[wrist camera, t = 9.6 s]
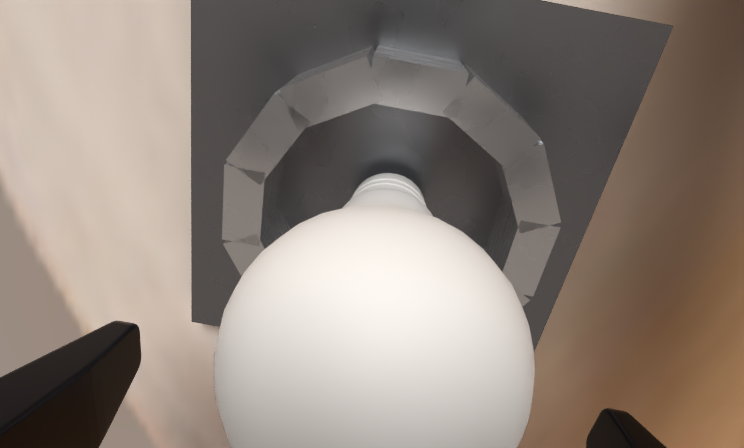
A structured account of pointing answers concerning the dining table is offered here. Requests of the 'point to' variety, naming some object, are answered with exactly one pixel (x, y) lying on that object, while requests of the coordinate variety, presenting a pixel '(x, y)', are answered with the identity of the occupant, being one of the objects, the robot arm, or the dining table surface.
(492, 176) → the bulb socket
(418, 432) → the lightbulb
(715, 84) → the dining table surface
